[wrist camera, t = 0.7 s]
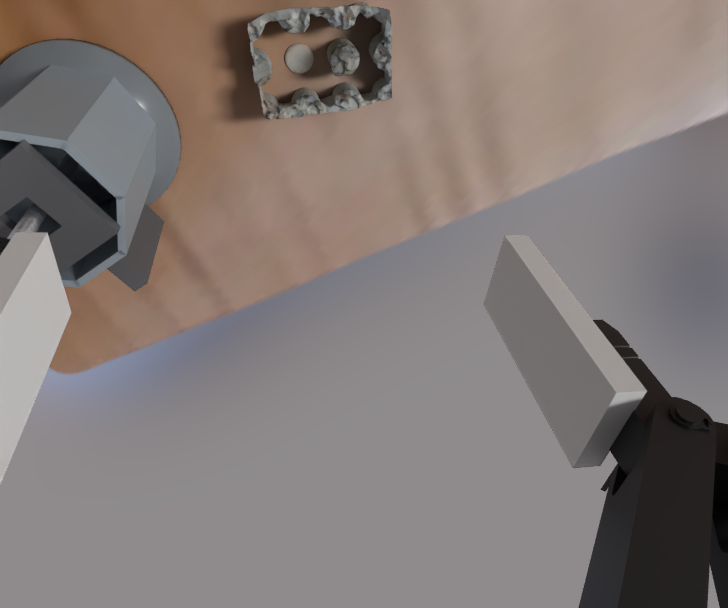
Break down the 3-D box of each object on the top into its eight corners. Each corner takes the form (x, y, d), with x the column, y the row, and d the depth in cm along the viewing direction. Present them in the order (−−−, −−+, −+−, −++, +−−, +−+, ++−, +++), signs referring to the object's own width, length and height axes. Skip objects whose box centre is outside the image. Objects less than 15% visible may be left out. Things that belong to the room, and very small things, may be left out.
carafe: (-18, 120, 40) (-116, 205, 29) (81, 40, 38) (13, 99, 27) (119, 241, 48) (80, 342, 37) (207, 180, 46) (193, 269, 35)
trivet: (-54, 110, 40) (-59, 114, 39) (81, -4, 37) (78, -2, 36) (96, 239, 48) (94, 243, 48) (216, 154, 45) (216, 157, 45)
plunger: (-7, 136, 39) (-192, 312, 23) (73, 72, 37) (-66, 213, 21) (84, 215, 43) (-16, 407, 27) (158, 161, 42) (98, 332, 26)
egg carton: (258, 106, 44) (258, 123, 41) (244, 3, 39) (243, 13, 36) (385, 98, 45) (395, 114, 42) (386, -3, 40) (397, 6, 37)
